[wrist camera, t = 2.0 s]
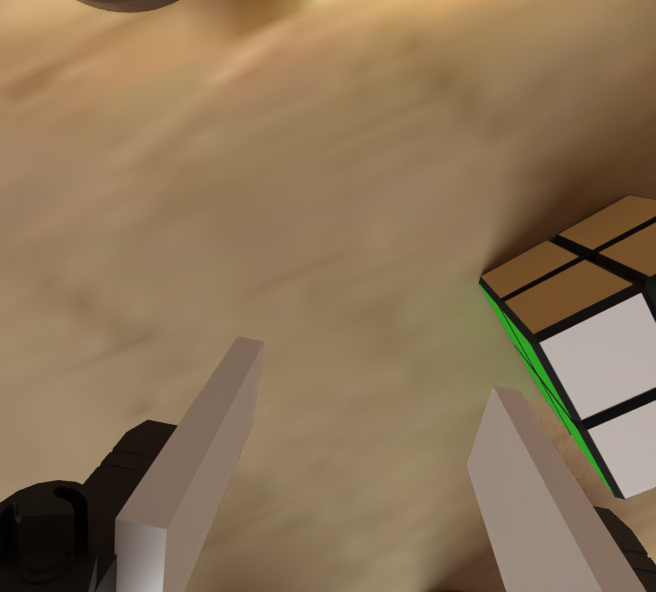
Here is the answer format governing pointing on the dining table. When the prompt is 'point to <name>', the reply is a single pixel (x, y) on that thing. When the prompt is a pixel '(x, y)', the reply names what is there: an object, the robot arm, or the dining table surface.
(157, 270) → the dining table surface
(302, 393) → the dining table surface
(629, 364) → the puzzle cube
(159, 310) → the dining table surface
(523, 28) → the dining table surface
